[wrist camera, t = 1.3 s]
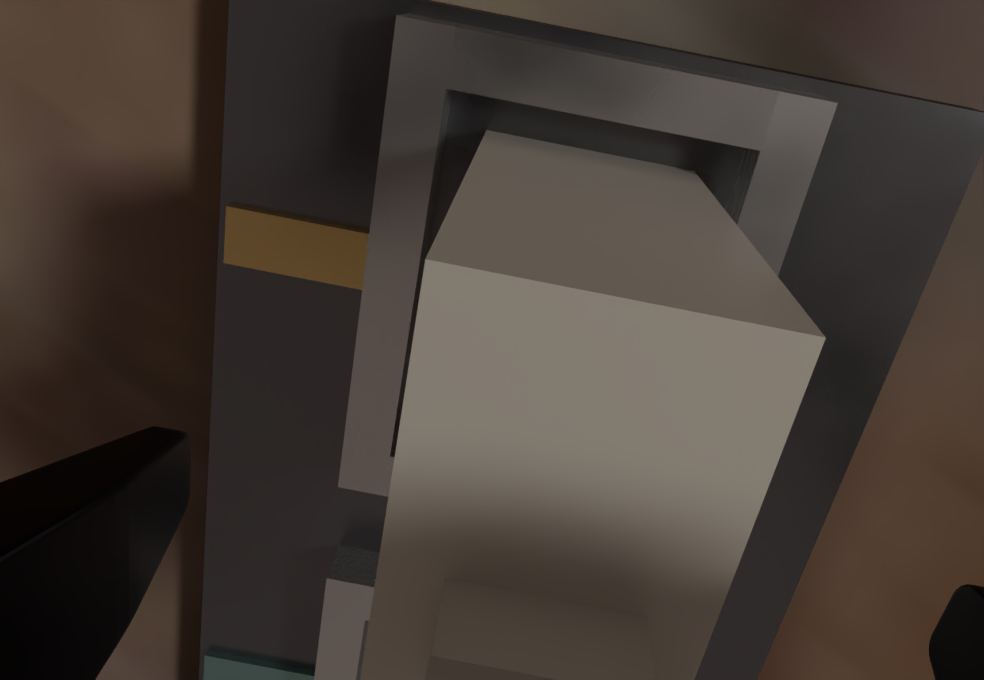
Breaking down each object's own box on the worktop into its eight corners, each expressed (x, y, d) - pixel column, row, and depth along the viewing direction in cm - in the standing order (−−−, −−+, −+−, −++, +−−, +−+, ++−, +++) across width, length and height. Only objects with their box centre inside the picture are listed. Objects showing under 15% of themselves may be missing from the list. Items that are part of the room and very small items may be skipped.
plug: (694, 171, 15) (870, 394, 7) (617, 439, 18) (677, 850, 9) (486, 130, 15) (405, 303, 7) (438, 405, 18) (333, 786, 9)
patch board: (971, 108, 15) (1034, 125, 13) (648, 890, 25) (656, 969, 23) (249, -36, 15) (204, -40, 13) (204, 806, 25) (174, 878, 23)
